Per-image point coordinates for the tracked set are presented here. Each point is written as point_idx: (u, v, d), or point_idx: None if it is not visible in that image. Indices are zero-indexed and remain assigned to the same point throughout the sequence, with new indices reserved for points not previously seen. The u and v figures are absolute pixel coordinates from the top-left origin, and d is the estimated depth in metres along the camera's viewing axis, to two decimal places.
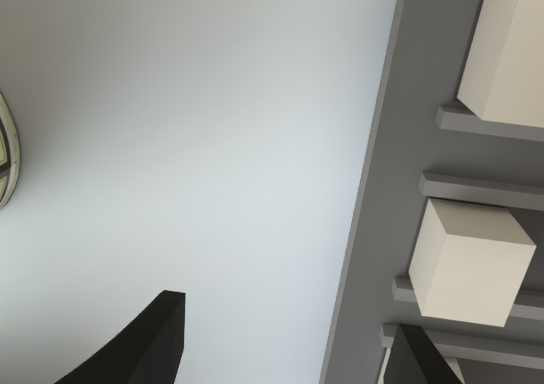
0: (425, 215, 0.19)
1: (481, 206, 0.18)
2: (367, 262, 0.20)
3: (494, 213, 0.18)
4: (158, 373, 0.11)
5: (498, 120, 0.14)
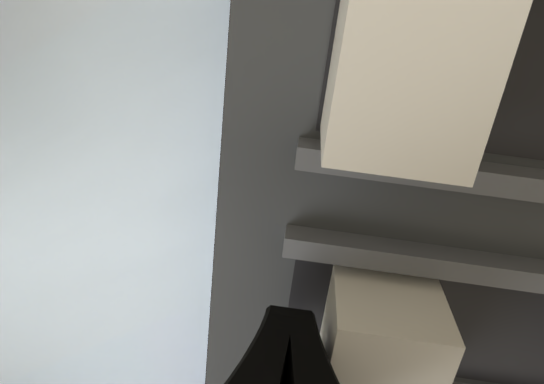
0: (330, 285, 0.14)
1: None
2: (231, 336, 0.15)
3: (418, 287, 0.13)
4: None
5: (346, 168, 0.09)
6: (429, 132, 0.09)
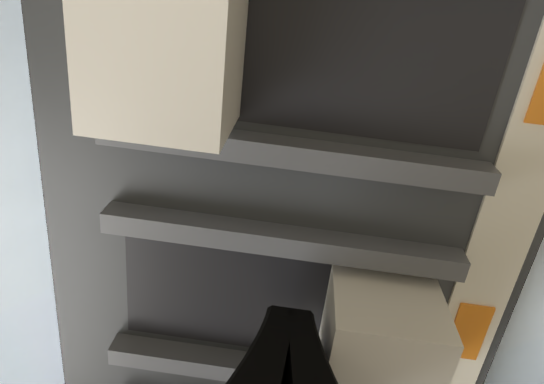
0: (328, 285, 0.14)
1: (403, 274, 0.14)
2: (79, 314, 0.15)
3: (417, 287, 0.13)
4: None
5: (97, 136, 0.10)
6: (165, 98, 0.09)
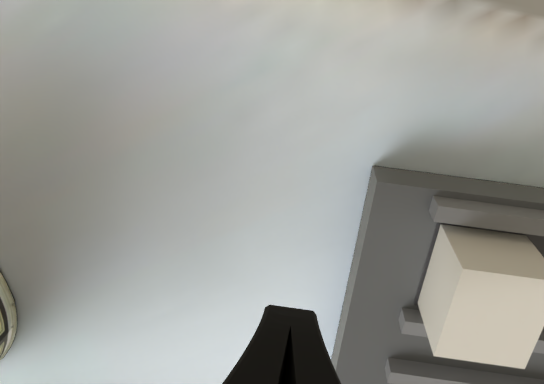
0: None
1: None
2: None
3: None
4: None
5: (448, 356, 0.16)
6: (500, 341, 0.15)
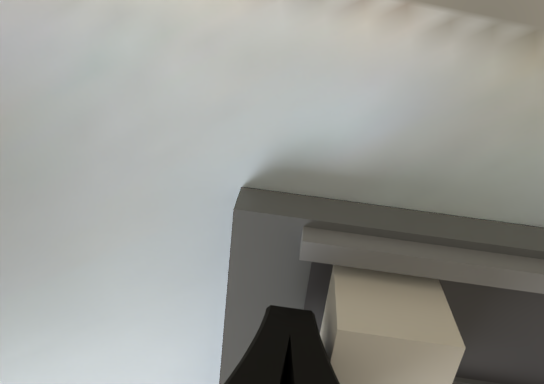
0: None
1: None
2: None
3: None
4: None
5: None
6: None
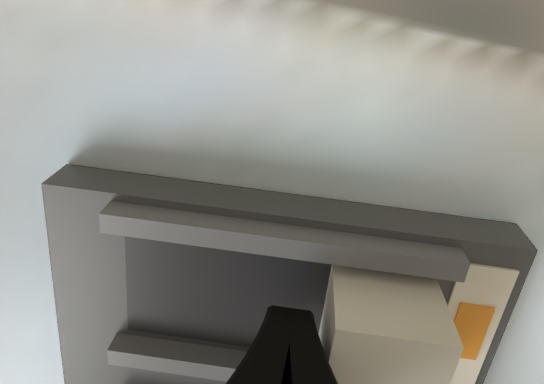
0: None
1: None
2: None
3: None
4: None
5: None
6: None
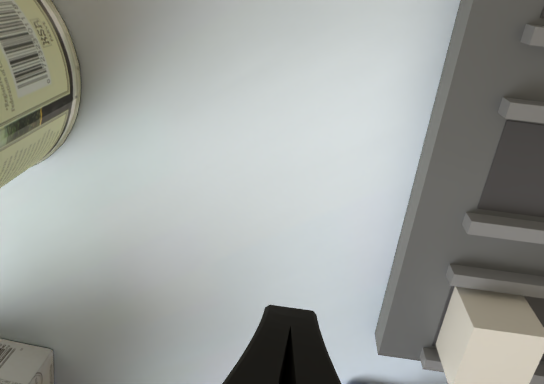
0: None
1: None
2: (439, 196, 0.20)
3: None
4: None
5: None
6: None
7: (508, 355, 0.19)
